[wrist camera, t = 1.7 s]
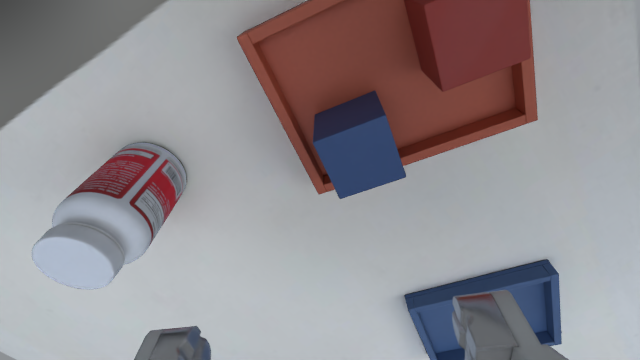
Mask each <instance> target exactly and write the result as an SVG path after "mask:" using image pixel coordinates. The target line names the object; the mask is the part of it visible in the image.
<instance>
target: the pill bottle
mask: <svg viewBox="0 0 640 360" xmlns="http://www.w3.org/2000/svg"><path fill="white" fill-rule="evenodd" d="M185 186H186V173H185V170H184V168H183V166H182V164H181V163H180V161H179V160H178V159H177V158H176V157H175V156H174V155H173V154H171V153H170V152H169V151H167V150H166V149H164V148H162V147H160V146H157V145H154V144H150V143H134V144H130V145H128V146H125V147H124V148H122V149H121V150H120V151H118V152H117V153H116V154H115V155H114V156H113V157H112V158H110V159H109V160H108V161H107V162H106V163H105V164H104V165H103V166H101V167H100V168H99V169H98V170H97V171H96V172H95V173H93V174H92V175H91V176H90V177H89V178H88V179H87V180H86V181H84V182H83V183H82V184H81V185H80V186H79V187H78V188H77V189H75V190H74V191H73V192H72V193H71V194H70V195H69V196H68V197H67V198H66V199H64V200H63V201H62V202H61V203H60V204H59V206H58V207H57V208H56V210H55V212H54V215H53V219H52V225H53V228H51V229H49V230H48V231H47V232H46V233H45V234H44V235H43V236H42V237H41V239H40V240H38V241H37V242H36V244H35V245H34V247H33V249H32V258H33V261H34V263H35V264H36V266H37V267H38V268H39V269H40V270H41V271H42V272H43V273H44V274H45V275H46V276H48V277H49V278H51V279H53V280H55V281H56V282H59V283H61V284H64V285H67V286H70V287H73V288H78V289H98V288H102V287H104V286H106V285H108V284H109V283H110V282H111V281H112V280H113V279H114V277H115V276H116V275H117V273H118V272H119V271H120V269H121V268H122V266H123V265H124V264H128V263H131V262H133V261H135V260H136V259H138V258H139V257H141V256H142V255H143V254H144V253H145V251H146V250H147V248H148V247H149V246H150V244H151V242H152V241H153V239H154V238H155V236H156V234H157V233H158V231H159V230H160V228H161V226H162V225H163V223H164V222H165V220H166V219H167V217H168V216H169V214H170V212H171V211H172V209H173V207H174V206H175V204H176V203H177V201H178V199H179V198H180V196H181V195H182V193H183V191H184V189H185Z"/></svg>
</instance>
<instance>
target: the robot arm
mask: <svg viewBox="0 0 640 360" xmlns="http://www.w3.org/2000/svg"><path fill="white" fill-rule="evenodd" d="M452 304H453V306H454V309H455V310H454V311H453V312H452V321H453V327H454V331H455V335H456V338H457V341H458V344H459V346H461V347H462V348H463V349H464V350H465V360H568V359H567V358H565V357H564V356H563V355H561V354H560V353H558V352H557V351H556V350H554V349H553V348H551V347H550V346H549V345H547V344H545V345H541V343H540V342H539V340H538V338H537V337H536V335H535V333H534V332H533V330H532V328H531V326H530V325H529V323H528V321H527V320H526V318H525V316H524V314H523V313H522V311H521V309H520V308H519V306H518V304H517V303H516V301H515V299H514V297H513V296H512V294H511V293H510V292H509V291H508V290H501V291H493V292H481V293H473V294H466V295H458V296H454V297H453V302H452ZM200 333H201V331H200V330H199V328H198V327H197V326H191V327H182V328H172V329H161V330H152V331H150V332H149V333H148V334H147V335H146V336H145V338H144V340H143V343H142V345H141V347H140V349H139V351H138V353H137V355H136V357H135V359H134V360H211V348H210V345H209V343H208V341H207V340H206V339H205V338H203V337H200Z"/></svg>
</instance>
